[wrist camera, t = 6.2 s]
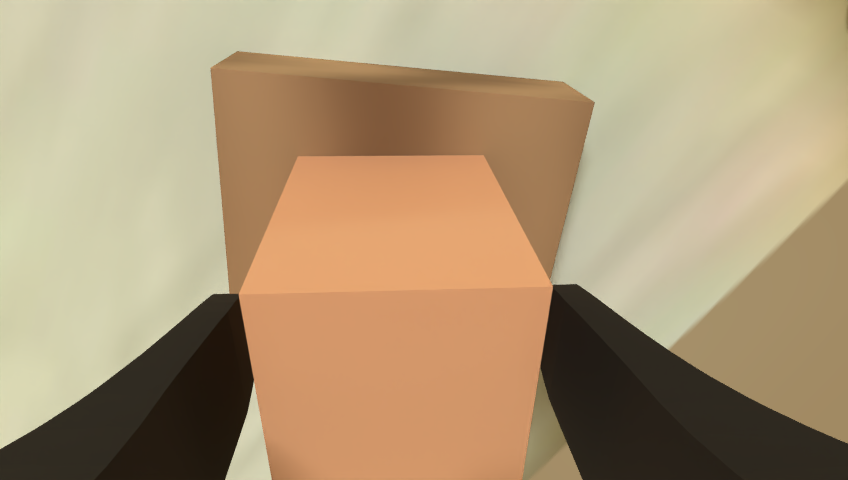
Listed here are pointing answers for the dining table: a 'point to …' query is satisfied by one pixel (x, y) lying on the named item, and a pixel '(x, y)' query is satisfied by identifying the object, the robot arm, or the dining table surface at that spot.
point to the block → (389, 135)
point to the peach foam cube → (395, 322)
